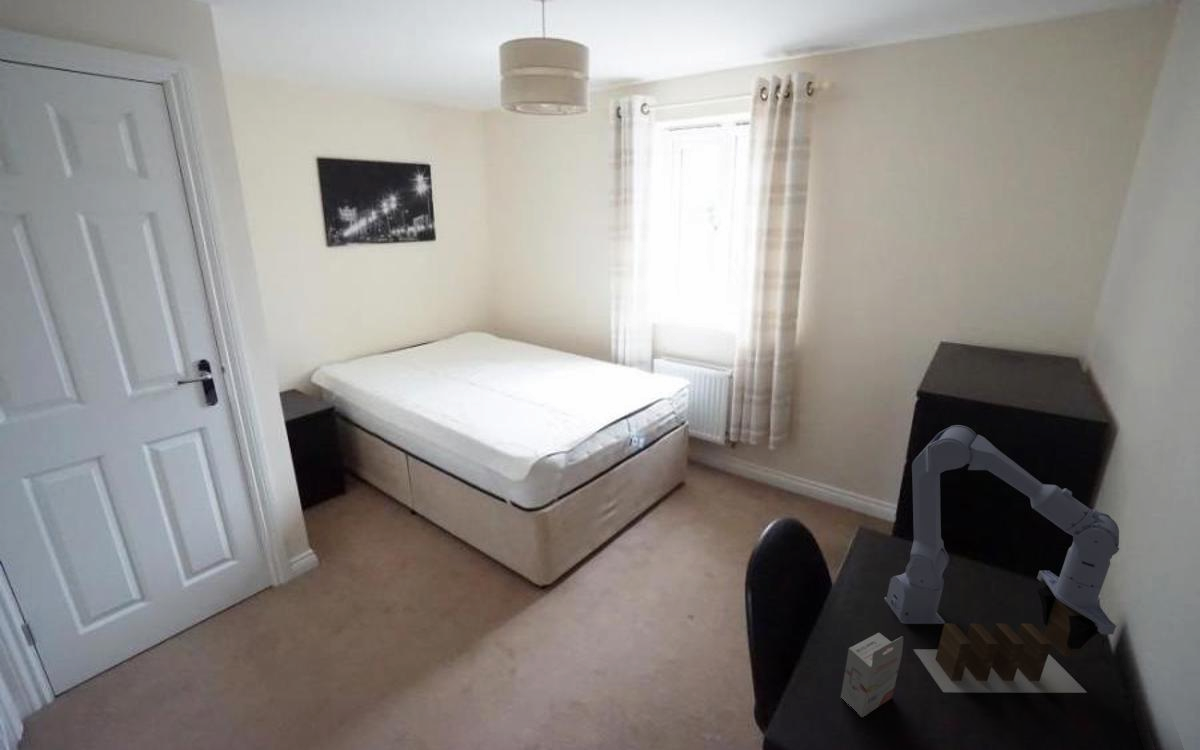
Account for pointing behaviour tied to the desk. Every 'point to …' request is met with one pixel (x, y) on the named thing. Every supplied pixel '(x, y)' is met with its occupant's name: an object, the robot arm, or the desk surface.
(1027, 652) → the domino
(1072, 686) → the mat
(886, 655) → the ink cartridge box
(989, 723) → the desk surface
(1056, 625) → the brown wooden block
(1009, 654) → the domino
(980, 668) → the domino
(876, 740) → the desk surface
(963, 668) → the domino
